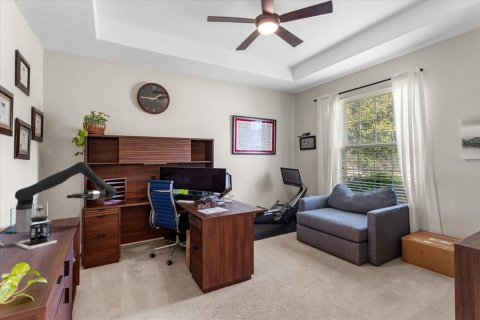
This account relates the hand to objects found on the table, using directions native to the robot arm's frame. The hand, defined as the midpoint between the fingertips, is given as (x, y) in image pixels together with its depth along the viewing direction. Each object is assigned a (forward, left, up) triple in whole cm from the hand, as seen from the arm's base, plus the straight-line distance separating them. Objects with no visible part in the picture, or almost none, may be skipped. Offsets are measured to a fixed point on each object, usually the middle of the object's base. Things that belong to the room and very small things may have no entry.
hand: (67, 196), depth 171 cm
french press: (+3, -17, -28) cm, 33 cm away
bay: (+3, -19, -28) cm, 34 cm away
